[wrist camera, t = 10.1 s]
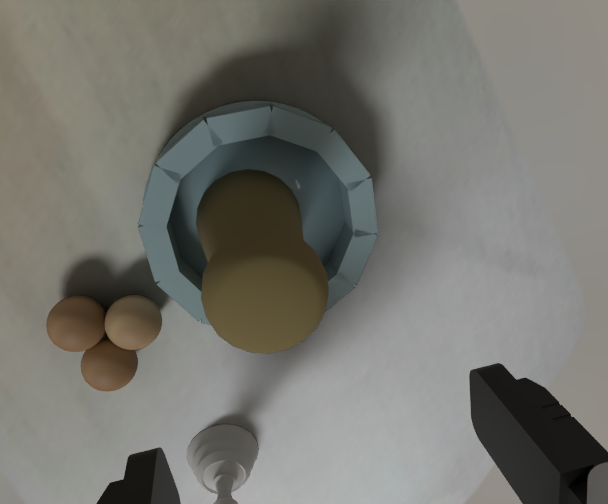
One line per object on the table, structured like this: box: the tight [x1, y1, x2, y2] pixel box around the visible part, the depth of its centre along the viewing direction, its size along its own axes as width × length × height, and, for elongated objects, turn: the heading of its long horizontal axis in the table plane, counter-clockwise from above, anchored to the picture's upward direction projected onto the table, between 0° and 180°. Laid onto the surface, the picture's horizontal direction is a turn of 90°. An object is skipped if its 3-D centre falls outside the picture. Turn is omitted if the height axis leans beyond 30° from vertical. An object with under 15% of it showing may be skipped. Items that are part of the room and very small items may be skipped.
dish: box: [138, 100, 378, 325], centre depth 29 cm, size 13×13×3 cm
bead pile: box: [46, 295, 162, 391], centre depth 30 cm, size 6×6×3 cm
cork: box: [196, 169, 329, 353], centre depth 25 cm, size 6×6×11 cm
